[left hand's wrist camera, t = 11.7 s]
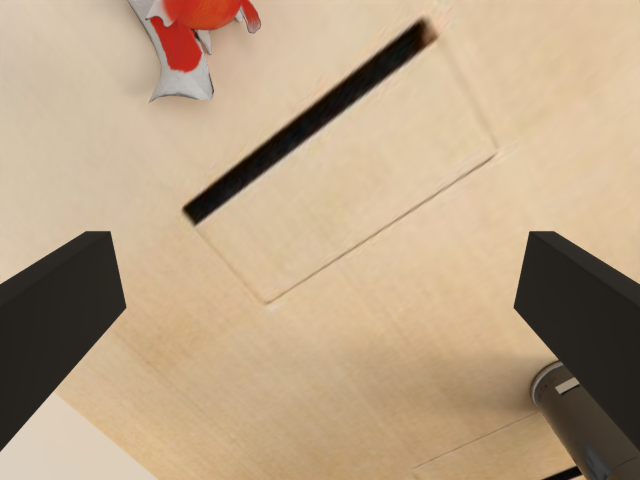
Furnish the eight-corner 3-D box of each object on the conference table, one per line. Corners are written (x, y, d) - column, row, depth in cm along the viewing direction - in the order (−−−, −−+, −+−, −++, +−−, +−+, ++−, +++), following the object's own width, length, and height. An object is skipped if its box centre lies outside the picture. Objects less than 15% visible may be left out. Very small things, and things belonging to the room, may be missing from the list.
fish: (314, 51, 34) (232, 26, 26) (207, 132, 43) (120, 133, 35) (267, -67, 33) (169, -130, 25) (169, 41, 42) (73, 19, 34)
